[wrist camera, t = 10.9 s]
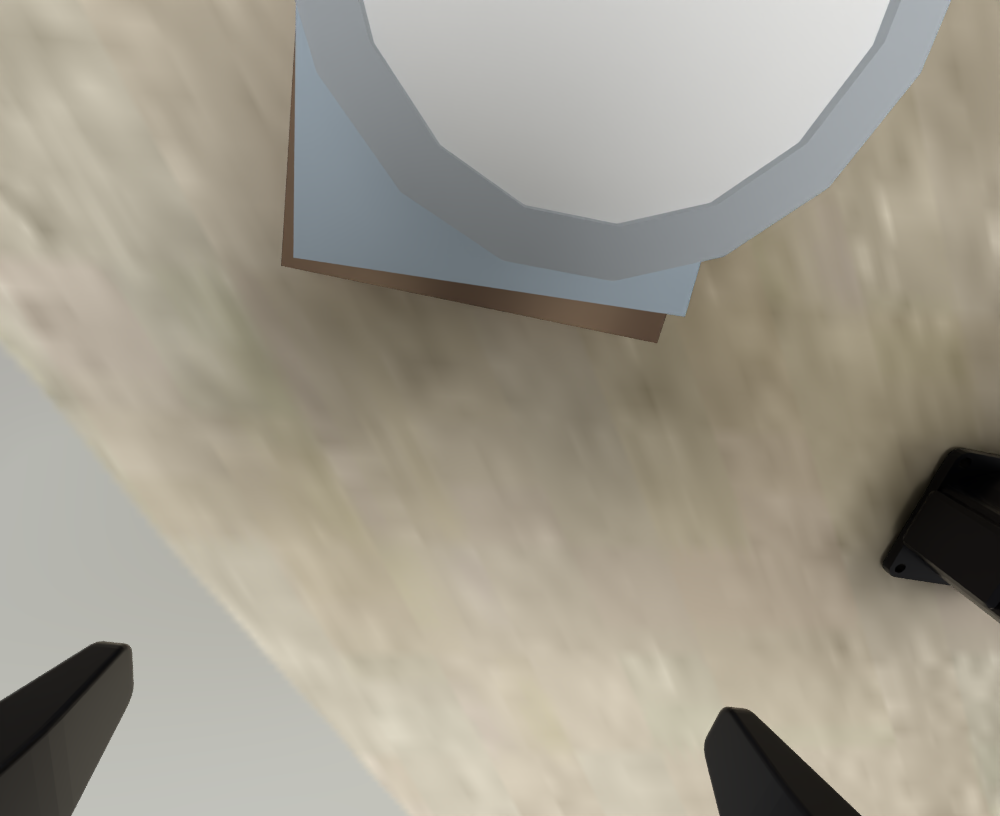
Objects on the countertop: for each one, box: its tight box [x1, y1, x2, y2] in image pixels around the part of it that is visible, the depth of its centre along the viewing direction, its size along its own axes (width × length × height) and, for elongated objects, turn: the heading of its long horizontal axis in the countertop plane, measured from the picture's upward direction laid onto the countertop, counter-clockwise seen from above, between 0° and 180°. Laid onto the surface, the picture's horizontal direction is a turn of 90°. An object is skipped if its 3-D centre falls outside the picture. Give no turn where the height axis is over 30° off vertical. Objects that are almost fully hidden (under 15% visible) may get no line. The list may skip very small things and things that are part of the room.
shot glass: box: [295, 0, 951, 281], centre depth 8 cm, size 7×7×7 cm
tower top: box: [293, 5, 701, 317], centre depth 12 cm, size 10×10×3 cm
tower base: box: [281, 31, 667, 343], centre depth 15 cm, size 12×12×3 cm
